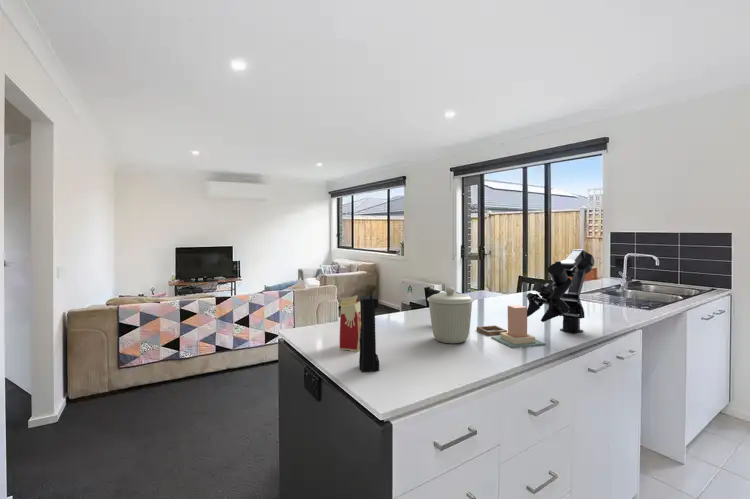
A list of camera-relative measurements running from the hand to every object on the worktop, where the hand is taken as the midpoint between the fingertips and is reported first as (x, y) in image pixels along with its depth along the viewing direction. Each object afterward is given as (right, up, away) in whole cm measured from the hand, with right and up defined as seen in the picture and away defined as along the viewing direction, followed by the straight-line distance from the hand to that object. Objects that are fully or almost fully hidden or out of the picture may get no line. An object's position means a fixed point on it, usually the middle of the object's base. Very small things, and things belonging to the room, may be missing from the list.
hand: (533, 318), depth 141 cm
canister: (-32, -9, +2) cm, 33 cm away
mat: (-7, -9, -1) cm, 11 cm away
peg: (-7, -8, -1) cm, 11 cm away
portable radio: (-64, -11, -26) cm, 70 cm away
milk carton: (-71, -10, -5) cm, 71 cm away
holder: (-12, -8, +13) cm, 20 cm away
